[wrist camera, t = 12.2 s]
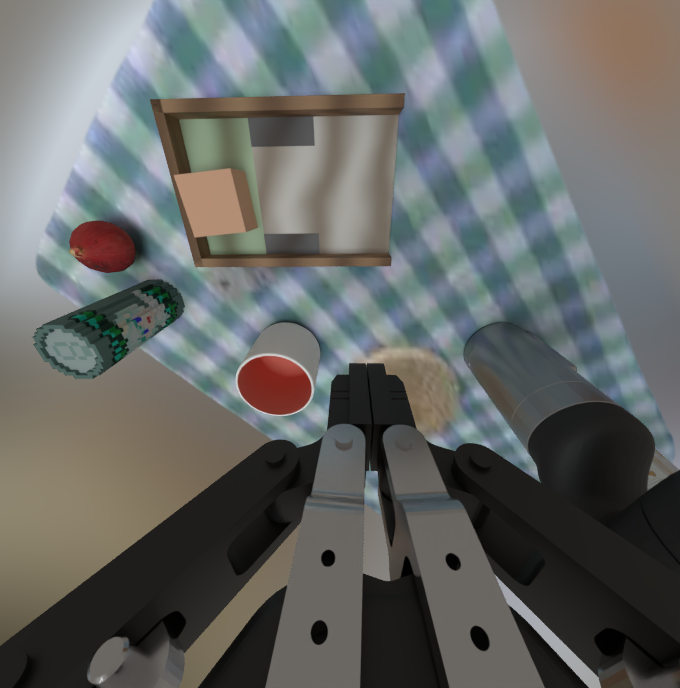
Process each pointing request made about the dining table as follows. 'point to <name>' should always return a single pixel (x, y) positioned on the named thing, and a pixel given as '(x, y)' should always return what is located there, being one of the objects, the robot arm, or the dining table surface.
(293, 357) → the cup
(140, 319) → the can
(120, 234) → the red oval fruit
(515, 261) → the dining table surface
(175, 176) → the block
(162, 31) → the dining table surface
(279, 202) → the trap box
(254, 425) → the dining table surface
